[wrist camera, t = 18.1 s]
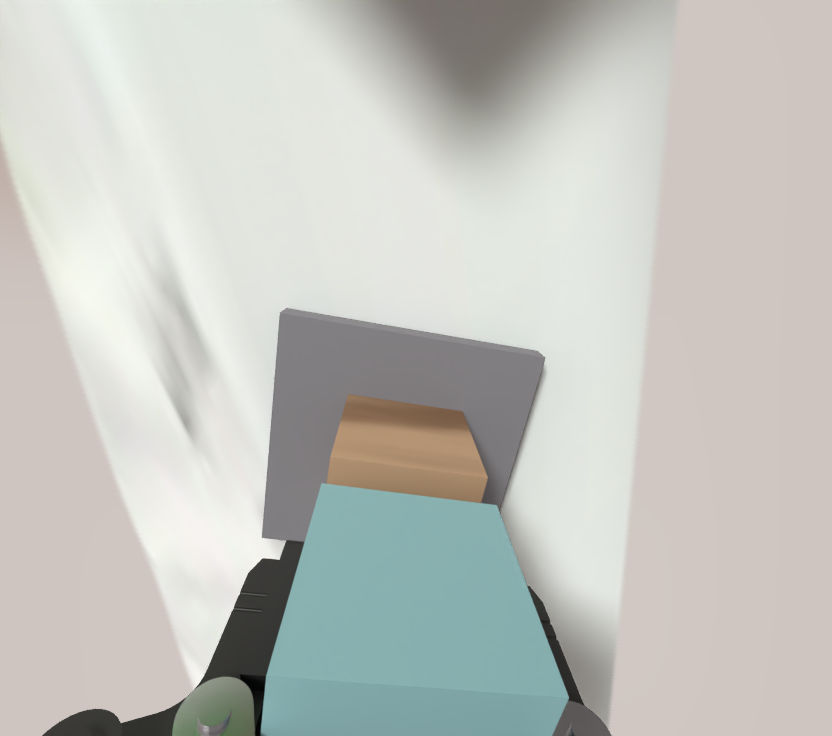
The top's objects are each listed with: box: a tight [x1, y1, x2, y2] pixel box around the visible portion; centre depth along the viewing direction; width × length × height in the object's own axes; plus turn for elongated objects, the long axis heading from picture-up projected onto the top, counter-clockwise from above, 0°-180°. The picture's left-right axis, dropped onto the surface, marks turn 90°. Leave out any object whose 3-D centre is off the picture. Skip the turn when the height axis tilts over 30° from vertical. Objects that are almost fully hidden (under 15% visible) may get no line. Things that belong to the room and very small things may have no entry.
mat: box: [262, 308, 545, 542], centre depth 18 cm, size 11×11×1 cm
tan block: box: [327, 394, 488, 503], centre depth 16 cm, size 5×5×5 cm
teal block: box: [260, 483, 569, 736], centre depth 10 cm, size 5×5×5 cm
